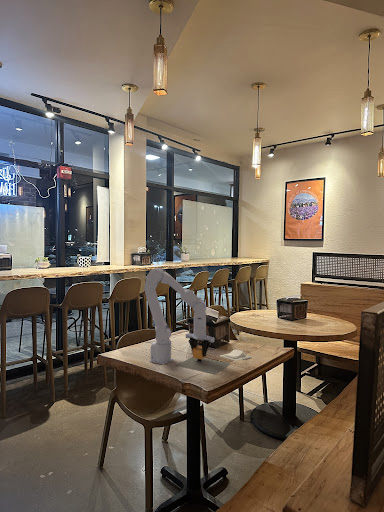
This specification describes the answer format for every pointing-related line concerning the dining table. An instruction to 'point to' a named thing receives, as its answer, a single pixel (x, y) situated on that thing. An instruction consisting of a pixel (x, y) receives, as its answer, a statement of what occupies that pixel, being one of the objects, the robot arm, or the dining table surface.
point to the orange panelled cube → (198, 352)
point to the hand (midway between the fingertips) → (199, 355)
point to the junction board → (204, 365)
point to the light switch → (236, 355)
